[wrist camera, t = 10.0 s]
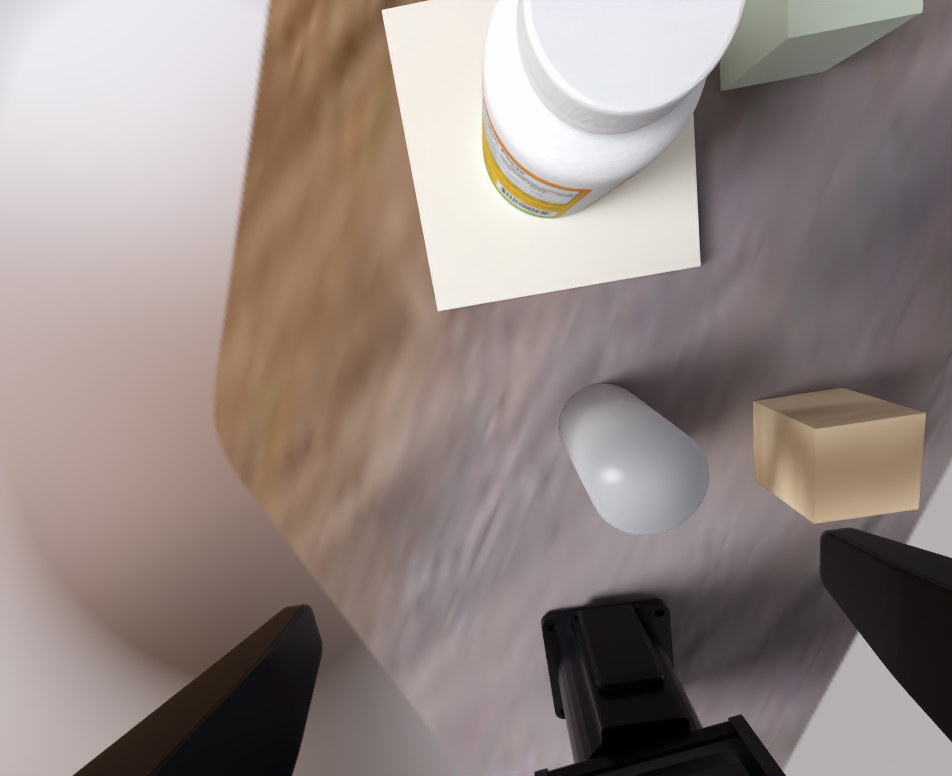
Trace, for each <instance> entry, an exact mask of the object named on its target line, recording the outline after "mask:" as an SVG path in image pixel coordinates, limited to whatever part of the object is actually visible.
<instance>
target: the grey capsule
mask: <svg viewBox="0 0 952 776" xmlns="http://www.w3.org/2000/svg"><path fill="white" fill-rule="evenodd" d="M559 434H560V438H561V441H562V443H563V445H564V447H565V449H566V451H567V453H568V455H569V457H570V459H571V461H572V463H573V465H574V467H575V469H576V471H577V473H578V475H579V477H580V479H581V481H582V483H583V485H584V487H585V489H586V490H587V492H588V494H589V496H590V498H591V500H592V502H593V504H594V506H595V508H596V510H597V511H598V513H599V514H600V516H601V517H602V518H603V519H604V520H605V521H606V522H608V523H609V524H610V525H612V526H614V527H615V528H617V529H619V530H622V531H624V532H628V533H632V534H639V535H648V534H656V533H661V532H664V531H667V530H670V529H672V528H674V527H676V526H678V525H679V524H681V523H683V522H684V521H685V520H687V519H688V518H689V517H690V516H691V515H692V514H693V513H694V512H695V511H696V509H697V508H698V507H699V505H700V504H701V502H702V500H703V498H704V496H705V494H706V491H707V488H708V482H709V469H708V463H707V460H706V457H705V455H704V453H703V451H702V450H701V448H700V446H699V445H698V444H697V443H696V442H695V441H694V440H693V439H692V438H691V437H689V436H688V435H687V434H685V433H684V432H683V431H681V430H680V429H679V428H677V427H676V426H675V425H673V424H672V423H671V422H669V421H668V420H667V419H665V418H664V417H663V416H661V415H660V414H659V413H657V412H656V411H655V410H653V409H652V408H651V407H649V406H648V405H647V404H645V403H644V402H643V401H641V400H640V399H639V398H637V397H636V396H635V395H633V394H632V393H631V392H629V391H628V390H626V389H625V388H622V387H620V386H617V385H614V384H604V383H602V384H595V385H591V386H588V387H585V388H583V389H581V390H580V391H578V392H577V393H575V394H574V395H573V396H572V397H571V398H570V399H569V400H568V402H567V403H566V404H565V406H564V408H563V410H562V412H561V415H560V419H559Z"/></svg>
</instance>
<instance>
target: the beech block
mask: <svg viewBox="0 0 952 776" xmlns="http://www.w3.org/2000/svg"><path fill="white" fill-rule="evenodd" d="M925 421H926V413H925V412H922V411H919V410H915V409H912V408H909V407H905V406H902V405H899V404H895V403H892V402H889V401H885V400H882V399H879V398H875V397H872V396H869V395H865V394H862V393H858V392H855V391H852V390H848V389H845V388H836V389H829V390H823V391H816V392H810V393H803V394H797V395H790V396H784V397H777V398H771V399H764V400H758V401H753V426H754V480H755V481H757V482H758V483H759V484H761V485H762V486H763V487H765V488H766V489H767V490H769V491H770V492H772V493H773V494H774V495H776V496H777V497H778V498H780V499H781V500H783V501H784V502H785V503H787V504H788V505H789V506H791V507H792V508H793V509H795V510H796V511H798V512H799V513H800V514H802V515H803V516H804V517H806V518H807V519H808V520H810V521H811V522H813V523H814V524H815V523H822V522H829V521H837V520H844V519H851V518H858V517H865V516H873V515H880V514H887V513H894V512H901V511H908V510H916V509H919V496H920V484H921V471H922V459H923V446H924V433H925Z"/></svg>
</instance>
